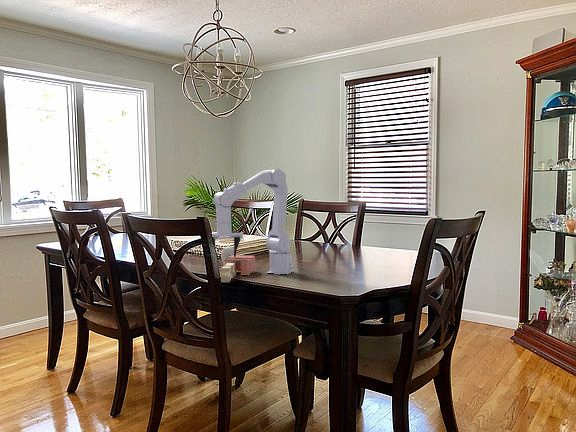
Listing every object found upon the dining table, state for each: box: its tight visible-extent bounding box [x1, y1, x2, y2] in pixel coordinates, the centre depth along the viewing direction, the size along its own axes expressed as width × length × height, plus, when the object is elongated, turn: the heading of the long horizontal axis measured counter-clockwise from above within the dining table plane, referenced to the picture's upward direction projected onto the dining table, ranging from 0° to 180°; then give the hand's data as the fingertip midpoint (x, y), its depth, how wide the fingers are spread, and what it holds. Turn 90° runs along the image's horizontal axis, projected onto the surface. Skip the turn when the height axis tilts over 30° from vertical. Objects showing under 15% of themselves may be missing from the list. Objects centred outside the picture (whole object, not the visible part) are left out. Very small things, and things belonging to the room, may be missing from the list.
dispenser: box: [225, 254, 256, 275], centre depth 207 cm, size 10×10×7 cm
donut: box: [220, 245, 238, 266], centre depth 220 cm, size 10×3×10 cm, turn 46°
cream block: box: [220, 263, 236, 283], centre depth 196 cm, size 12×3×6 cm, turn 174°
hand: (225, 256), depth 191 cm, fingers open, 7 cm apart
